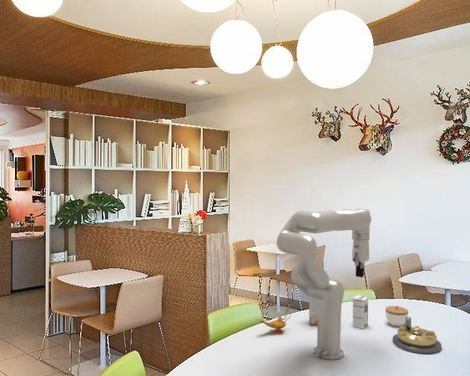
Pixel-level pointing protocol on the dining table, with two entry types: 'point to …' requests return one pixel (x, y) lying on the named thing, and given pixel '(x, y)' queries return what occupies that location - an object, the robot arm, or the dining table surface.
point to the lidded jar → (396, 315)
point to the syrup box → (360, 311)
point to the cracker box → (314, 310)
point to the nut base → (417, 350)
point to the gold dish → (416, 336)
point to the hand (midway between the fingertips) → (359, 276)
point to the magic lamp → (277, 324)
